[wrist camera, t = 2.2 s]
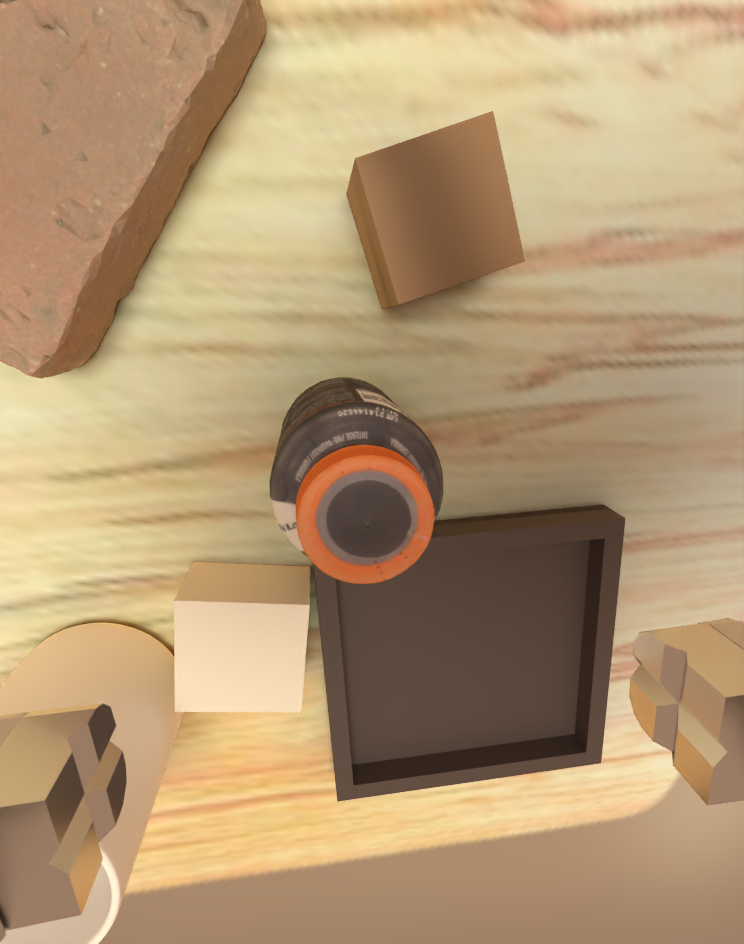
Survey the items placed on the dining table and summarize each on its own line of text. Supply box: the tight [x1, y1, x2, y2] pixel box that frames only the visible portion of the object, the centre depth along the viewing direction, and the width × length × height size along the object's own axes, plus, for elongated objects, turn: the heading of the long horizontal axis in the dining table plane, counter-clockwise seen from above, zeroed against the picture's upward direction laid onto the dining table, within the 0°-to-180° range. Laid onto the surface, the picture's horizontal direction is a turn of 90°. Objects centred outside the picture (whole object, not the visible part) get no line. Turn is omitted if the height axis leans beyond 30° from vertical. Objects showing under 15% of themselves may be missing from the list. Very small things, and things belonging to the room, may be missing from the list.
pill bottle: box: [270, 378, 443, 584], centre depth 19 cm, size 6×6×11 cm
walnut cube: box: [346, 111, 525, 308], centre depth 20 cm, size 5×5×5 cm
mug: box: [0, 623, 184, 944], centre depth 22 cm, size 9×12×11 cm
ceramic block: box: [174, 562, 310, 712], centre depth 25 cm, size 6×6×4 cm
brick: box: [0, 0, 266, 378], centre depth 18 cm, size 17×8×5 cm, turn 145°
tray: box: [313, 505, 625, 801], centre depth 28 cm, size 16×16×2 cm
